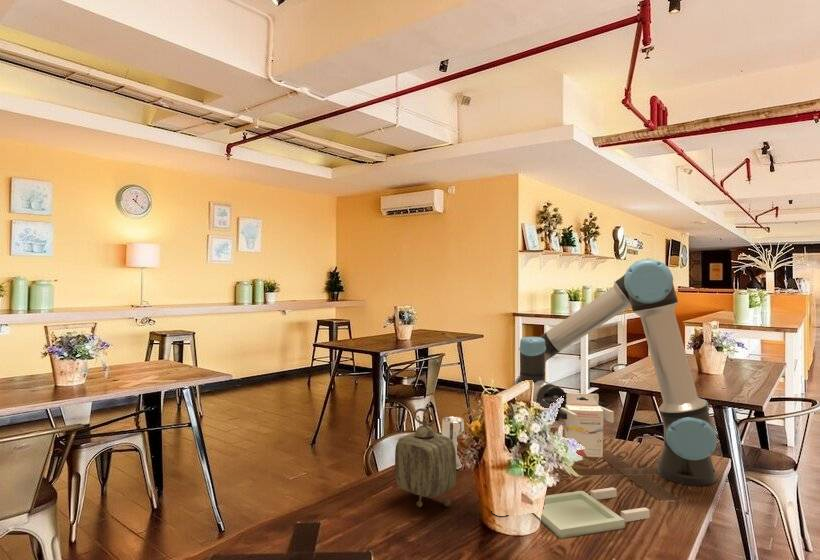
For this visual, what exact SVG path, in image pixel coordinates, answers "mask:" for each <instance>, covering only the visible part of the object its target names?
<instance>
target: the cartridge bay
mask: <svg viewBox="0 0 820 560" xmlns="http://www.w3.org/2000/svg"><path fill="white" fill-rule="evenodd" d="M589 492H590V493H589V494H590V496H591V497H593V498H594V499H596V500H597V501H599V500H605V499H612V498H617V496H618V495H617V494H618V493H617V492H618V491H617V488H615V487H612V486H611V487H607V488H606V487H605V488H597V489H591V490H590V491H589ZM650 512H651V511H650V509H649V508H647V507H638V508H631V509H625V510H620V517H622V518H623V519H624V520H625V523H627V522H633V521H639V520H640V519H641V520H648V519H651V517H650V516H651V515H650V514H651V513H650ZM641 520H640V521H641Z"/></svg>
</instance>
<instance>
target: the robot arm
mask: <svg viewBox="0 0 820 560" xmlns="http://www.w3.org/2000/svg"><path fill="white" fill-rule="evenodd" d="M673 281H674V277H673V274H672V271H671V269H670V268H669V267H668V265H666V264H665V263H664V262H662V261H660V260H658V259H654V258H645V259H643V258H642V259H640V260H637V261H635V262H633V263H632V264H631V265H630V266H629V267H628V268H627V269H626V271H625V273H624V275H622V276H620V277H619V279H616V280H615V281H614V282H613V286H612V287H611V288H610V289H608V290H607V291H604V293H602V294H601V295H599V296H598V297H596V298H595V299H593V300H592V301H590V302H589V303H587V304H586V305H584V306H583V307H581V308H579V309H578V310H577V311H575V312H574V313H572V314H570V315H569V316H568V317H566V318H565V319H564V320H562V321H560V322H559V323H558V324H556V325H555V326H553V327H552V328H550V329H549V330H547V331H546V332H545V333H543V334H541V335H539V336H523V337H522V338H520V339H519V340H520V342H519V348H518V350H519V375H518V376H517V377H516V379H515V381H514V383H513V386H514V385H515V384H517V383H518V382H521V381H525V380H533V382H534V401H535V402H536V403H538V404H540V405H541V406H542V407H544V408H549V406H550V404H551V403H553V402H554V403H555V401H556V400H557V399H558V398H560V397H561V396H562V398H564V401H563V403H562V404H561V407H560V408H558V409H559V411H558V414H557V417H556V419H555V418H554V421H557V422H559V421H560V419H561V420H562V421H564V422H565V421H566V422H568V423H570V424H572V425H574V426H577V414H575V413H573V412H571V411H569V410H567V409H565V405H566V395H567V393H566V392H565V391H564V389H562V387H560V386H557V385H555V384H552V383H551V382H548V381H546V362H547V361H548V360H550V359H552V358H553V357H554V356H556V355H557V354H559V353H560V352H562V351H564V350H565V349H567V348H568V347H570V346H571V345H573V344H574V343H576V342H577V341H579V340H581V339H582V338H584V337H586V336H587V335H588V334H590V333H591V332H593V331H594V330H596V329H598V328H599V327H600V326H603V324H605V323H607V322H609V320H612V319H613V318H615V317H616V316H618V315H620V314H621V313H622V312H624V311H625V310H627V309H629V308H631V309H632V313H634V314H635V315H637V316H639V317H640V320H641V324H642V327H643V328H642V329H643V331H644V335H645V338H646V342H647V346H648V350H649V354H650V358H651V362H652V364H653V369H654V372H655V376H656V381H657V383H658V386H659V390H660V395H661V399H662V403H661V404H660V406H659V408H658V410H659V414H660V418H661V420H662V425H663V449H662V452H661V455H660V458H659V459H660V460H659V461H658V463H657V474H659V476H660V477H662V478H664V479H666V480H667V481H670V482H673V483H677V484H682V485H687V486H696V487H697V486H700V487H701V486H702V487H703V486H710V485H713V484H715V483H716V482H717V473H716V469H715V468H714V464H713V460H712V458H711V455H712V454H713V453H714V452H715V450H716V449H717V448H716V447H717V443H718V436H717V435H718V434H717V432H716V430H715V429H714V427H713V422H712V419H711V416H710V415H711V414H710V412H709V411H710V407H709V406H710V405H709V402H708V400H706V399H704V398H700V397H699V396H698V393H697V389H696V385H695V381H694V378H693V375H692V374H693V373H692V371H691V367H690V364H689V360H688V357H687V352H686V350H685V346H684V345H685V344H684V342H683V339H682V334H681V330H680V326H679V324H678V321H677V320H678V319H677V316H676V312H675V309H676V307H677V305H678V304H679V299H678V297H677V293H676V290H675V285H674V282H673ZM563 396H564V397H563ZM577 400H588V398H584V397H581V398H577ZM556 402H557V401H556ZM598 406H600V408H601V409H602V410H603V421H604V420H605V421H606V422H608V423H610V424H614V423H615V422H614V421H615V413H614V412H615V411H613V410H611V409H609V408H606V406H607V405H606V403H605V402H601V401H599V403H598Z"/></svg>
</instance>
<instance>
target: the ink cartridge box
mask: <svg viewBox="0 0 820 560" xmlns="http://www.w3.org/2000/svg"><path fill="white" fill-rule="evenodd" d="M581 397H584V398H587V399H588V400H577V398H581ZM599 398H600V396H599V394H598V393H583V392H582V393H579V392H577V393H576V392H575V393H574V392H573V393H572V392H567V393H566V405H565V409H567V410H569V411H571V412H573V413H575V414H577V426H574V425H572V424H570V423H568V422H566V421H564V438H565V437H566V438H574V439H575V440H576V441H577V442H578V443H579V444H581V445H582V446H584V447H585V449H583V450H579V451H577V452H576V453H577V454H578V455H580V456H579V457H588V458H589V457H591V458H594V457H595V458H603V457H604V456H603V455H604V419H603V410H602V409H601V408H600V406H598V403H599V402H600V401H599Z"/></svg>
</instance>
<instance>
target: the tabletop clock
mask: <svg viewBox="0 0 820 560" xmlns="http://www.w3.org/2000/svg"><path fill="white" fill-rule="evenodd" d="M418 412H424V413H427V414H429V415H430V416H431V417H432V421H431V422H427V419H425V418H424V419H422V421H421V420H419V419H418V418H417V413H418ZM413 414H414V415H413V416H414V419H415V421H416V422H417V423H418V424H419V425H420V426H418V427H416V430H415V432H413V433H411V434H410V433H409V434H407V435H405V436H402V437H399V439H398V440H397V442H396V446H395V451H394V468H395V469H394V470H395V474H394V475H395V480H396V484H397V485H398V486H399V487H400V488H401V489H402V490H405V491H407V492H409V493H412V494H413V495H415V496H418V498H419V499H418V501H416V507H418V508H422V507H423V504H424V503H423V501H422V498H423V497H425V498H429V499H433V498H437V497H439V496H440V498H441V499H442V500H443V505H444V506H445V507H450V505H451V501H450V500H449V499H446V497H445V495H444V493H447V492H449V491H450V490H452V489H454V487H455V485H456V480H457V471H456V467H457V464H456V452H455V446H454V443H453V441H452V440H451V439H450V438H448V437H446V436H444V435H442V433H438V432H435V431H434V429H433V428H432V427H431V426H432V425H433V424H435V421H436V419H435V415H434V413H433V412H431V410H429V409H427V408H423V407H422V408H421V407H419V408H417V409H416V410H415V411H414V413H413Z"/></svg>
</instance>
